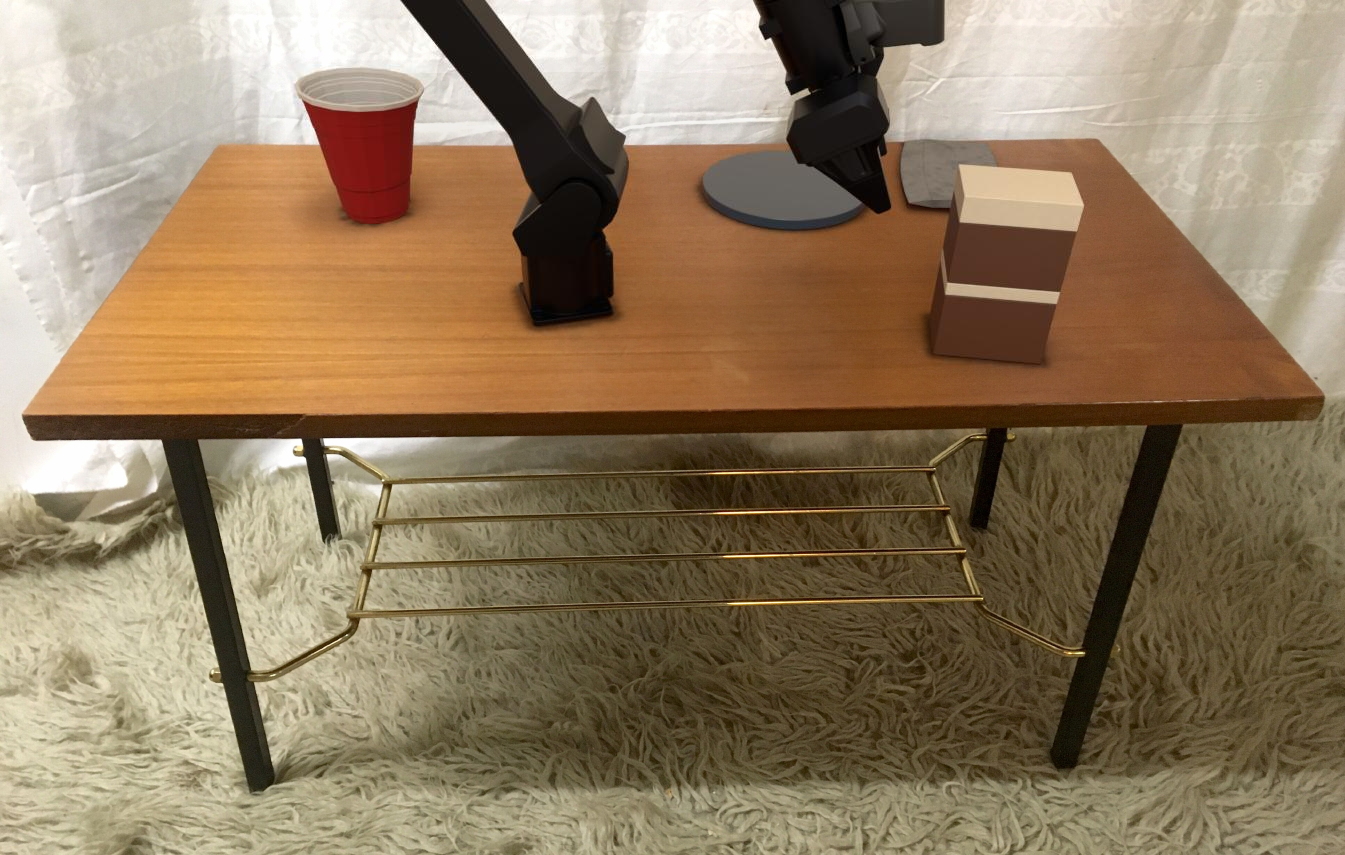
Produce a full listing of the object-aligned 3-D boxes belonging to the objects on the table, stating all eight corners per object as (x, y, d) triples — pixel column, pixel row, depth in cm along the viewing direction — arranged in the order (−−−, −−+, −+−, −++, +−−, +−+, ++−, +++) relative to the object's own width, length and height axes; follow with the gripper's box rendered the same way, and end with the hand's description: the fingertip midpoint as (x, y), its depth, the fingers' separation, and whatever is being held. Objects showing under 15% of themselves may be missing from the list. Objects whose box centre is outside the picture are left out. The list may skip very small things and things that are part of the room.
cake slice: (932, 354, 81) (964, 196, 73) (929, 317, 85) (958, 164, 77) (1040, 364, 80) (1084, 205, 72) (1031, 326, 84) (1071, 172, 76)
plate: (734, 239, 95) (735, 229, 95) (681, 168, 107) (681, 158, 107) (896, 218, 99) (897, 208, 98) (827, 152, 111) (828, 143, 111)
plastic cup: (458, 218, 97) (444, 88, 90) (344, 247, 92) (319, 113, 85) (410, 176, 105) (394, 53, 97) (302, 201, 100) (276, 74, 92)
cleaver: (1030, 283, 89) (1035, 261, 88) (912, 275, 90) (916, 253, 89) (987, 150, 113) (991, 131, 112) (894, 144, 114) (897, 125, 112)
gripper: (919, -39, 59) (1008, 196, 67) (904, -112, 74) (979, 88, 81) (740, 50, 63) (843, 260, 71) (759, -36, 78) (843, 147, 86)
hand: (882, 182), depth 77 cm, fingers open, 9 cm apart
